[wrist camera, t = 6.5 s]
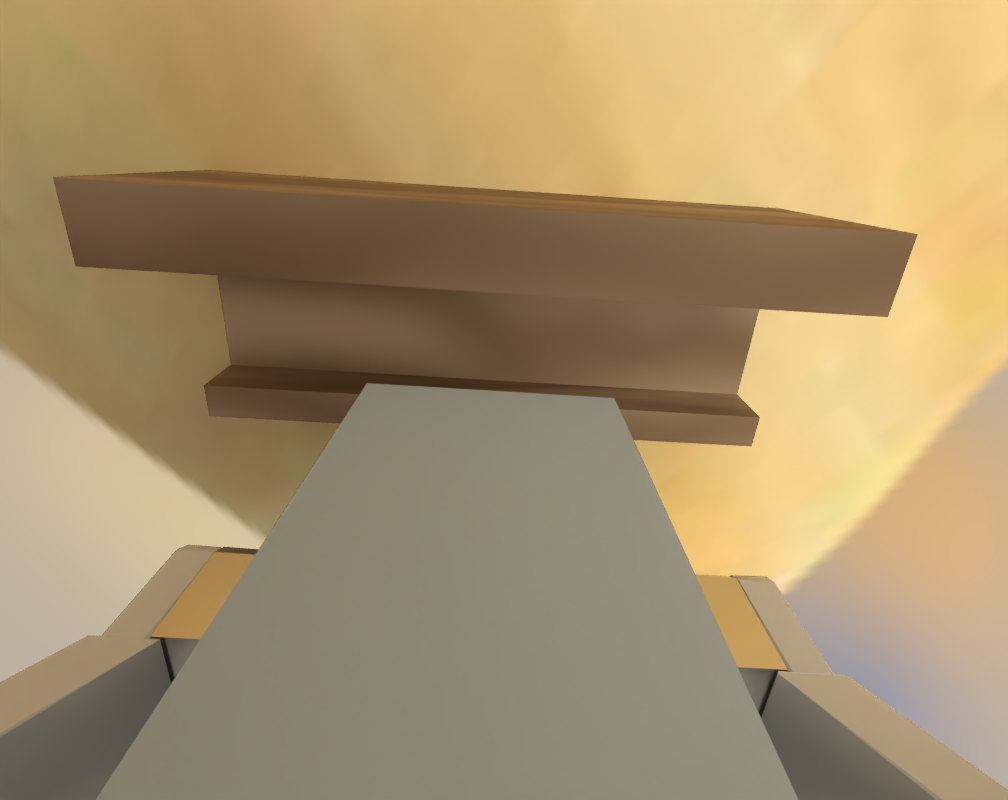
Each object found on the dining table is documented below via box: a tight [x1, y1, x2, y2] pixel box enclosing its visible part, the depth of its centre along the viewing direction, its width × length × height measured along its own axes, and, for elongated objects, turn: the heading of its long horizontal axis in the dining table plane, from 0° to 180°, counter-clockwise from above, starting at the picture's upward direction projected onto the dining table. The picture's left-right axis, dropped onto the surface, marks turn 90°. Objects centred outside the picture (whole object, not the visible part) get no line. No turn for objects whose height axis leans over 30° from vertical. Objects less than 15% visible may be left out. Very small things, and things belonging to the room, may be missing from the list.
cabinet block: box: [96, 383, 798, 800], centre depth 8 cm, size 4×5×9 cm
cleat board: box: [53, 170, 917, 446], centre depth 17 cm, size 8×20×7 cm, turn 86°
